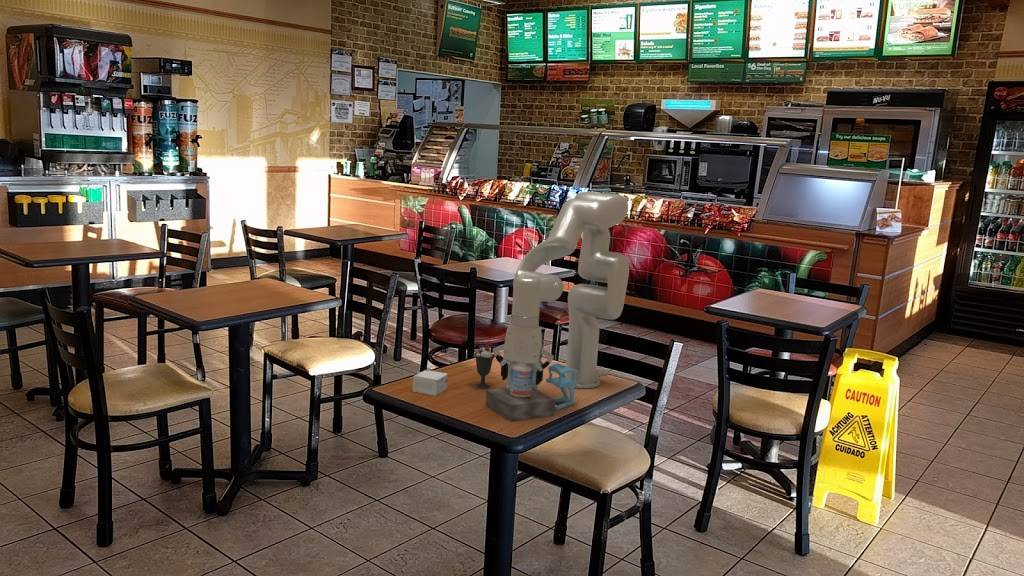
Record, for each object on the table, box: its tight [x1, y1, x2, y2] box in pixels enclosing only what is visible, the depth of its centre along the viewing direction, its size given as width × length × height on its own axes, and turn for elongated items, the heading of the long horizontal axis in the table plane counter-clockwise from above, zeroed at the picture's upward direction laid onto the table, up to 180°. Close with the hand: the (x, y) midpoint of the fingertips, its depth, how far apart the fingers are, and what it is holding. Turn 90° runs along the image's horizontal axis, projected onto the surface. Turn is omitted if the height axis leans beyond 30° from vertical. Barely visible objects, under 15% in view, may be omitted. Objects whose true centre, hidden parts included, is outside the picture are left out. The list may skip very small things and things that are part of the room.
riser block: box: [485, 387, 556, 422], centre depth 218 cm, size 14×14×5 cm
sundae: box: [473, 340, 496, 390], centre depth 237 cm, size 7×7×15 cm
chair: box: [545, 362, 577, 411], centre depth 225 cm, size 8×8×12 cm
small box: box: [412, 369, 449, 397], centre depth 231 cm, size 8×8×5 cm
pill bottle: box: [510, 362, 533, 398], centre depth 216 cm, size 6×6×11 cm
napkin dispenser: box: [505, 361, 538, 390], centre depth 234 cm, size 5×10×10 cm, turn 29°
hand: (521, 381), depth 217 cm, fingers open, 9 cm apart
